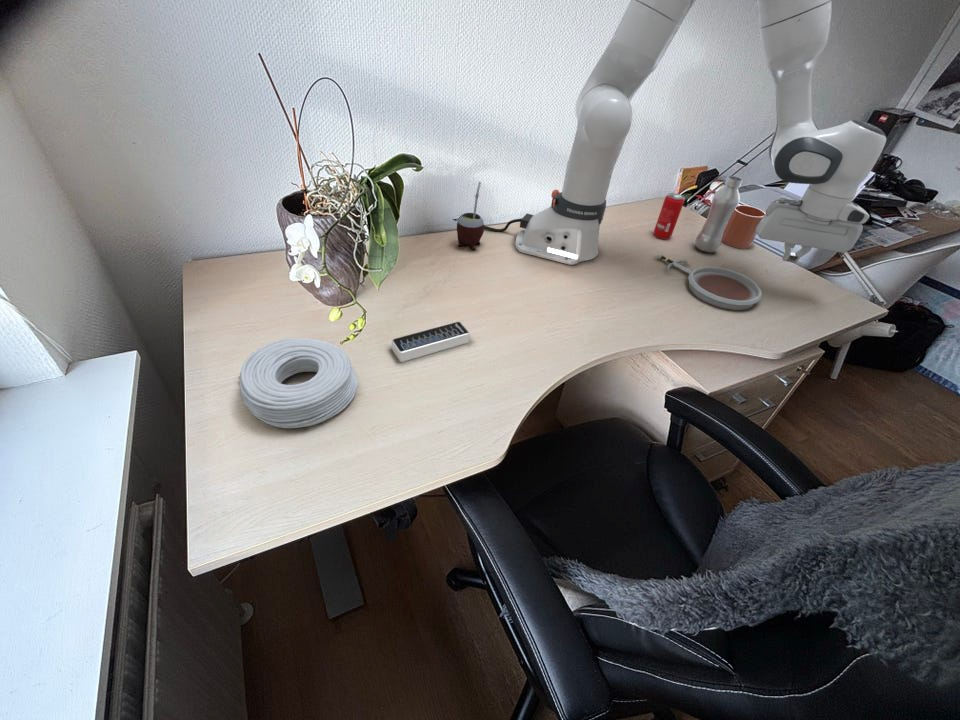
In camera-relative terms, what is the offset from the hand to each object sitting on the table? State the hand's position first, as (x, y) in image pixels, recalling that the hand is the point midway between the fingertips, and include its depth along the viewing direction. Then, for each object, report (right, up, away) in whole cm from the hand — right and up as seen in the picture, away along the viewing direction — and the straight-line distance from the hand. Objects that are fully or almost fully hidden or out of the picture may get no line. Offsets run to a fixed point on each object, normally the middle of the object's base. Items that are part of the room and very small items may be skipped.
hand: (788, 261), depth 109 cm
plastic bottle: (-10, +8, +22) cm, 25 cm away
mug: (+1, +12, +28) cm, 30 cm away
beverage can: (-20, +13, +26) cm, 36 cm away
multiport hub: (-83, -21, -21) cm, 88 cm away
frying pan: (-18, -4, +7) cm, 19 cm away
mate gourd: (-77, +7, +13) cm, 78 cm away
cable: (-103, -29, -32) cm, 112 cm away
